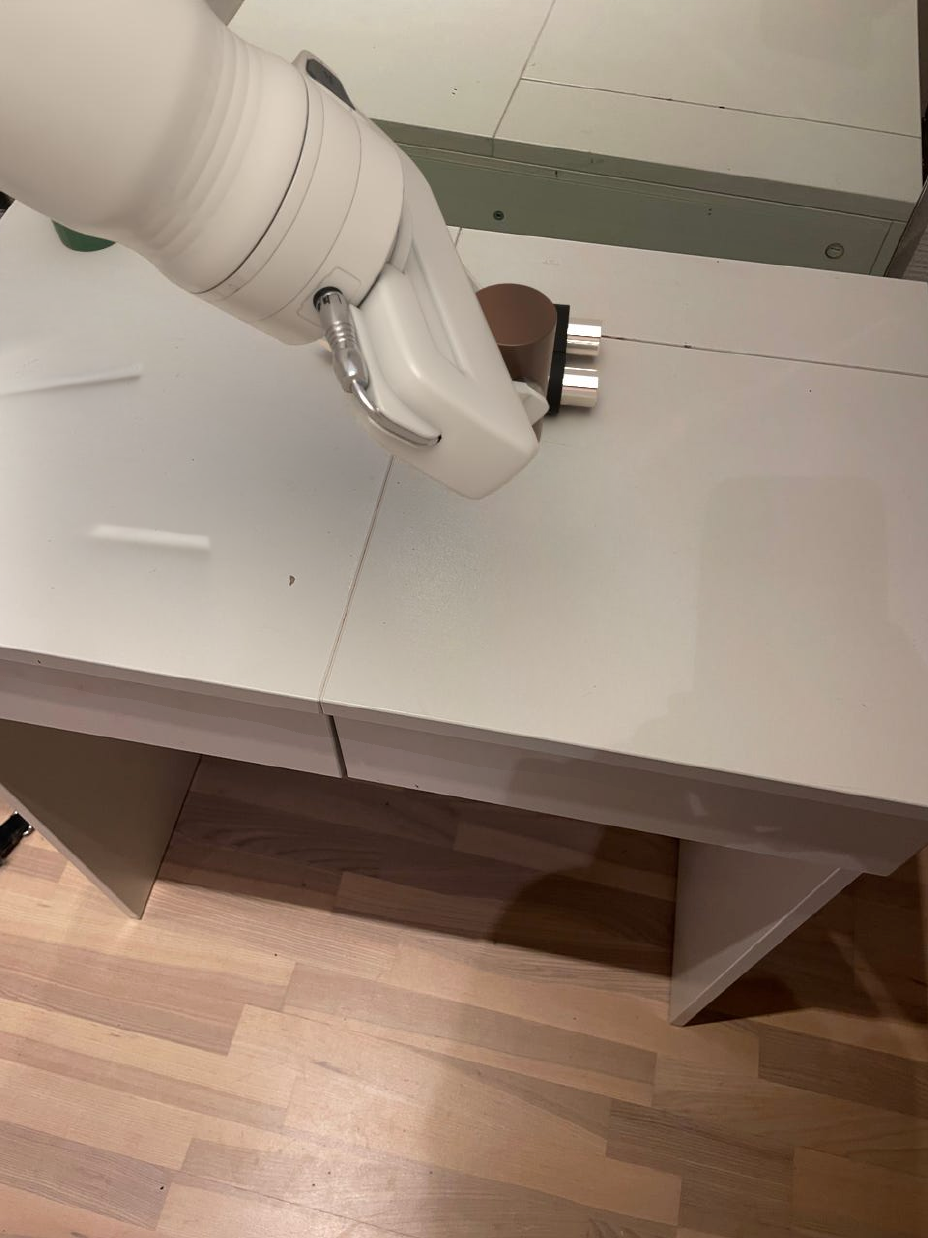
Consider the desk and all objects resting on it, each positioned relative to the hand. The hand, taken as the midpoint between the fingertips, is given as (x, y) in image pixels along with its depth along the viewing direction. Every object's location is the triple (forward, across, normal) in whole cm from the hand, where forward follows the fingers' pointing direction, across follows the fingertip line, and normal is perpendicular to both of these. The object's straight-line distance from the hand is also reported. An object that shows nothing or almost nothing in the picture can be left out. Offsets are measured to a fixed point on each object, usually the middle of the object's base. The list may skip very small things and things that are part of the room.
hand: (517, 368), depth 44 cm
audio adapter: (+20, +25, +14) cm, 35 cm away
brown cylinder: (+3, 0, +4) cm, 4 cm away
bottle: (-1, +54, +36) cm, 65 cm away
